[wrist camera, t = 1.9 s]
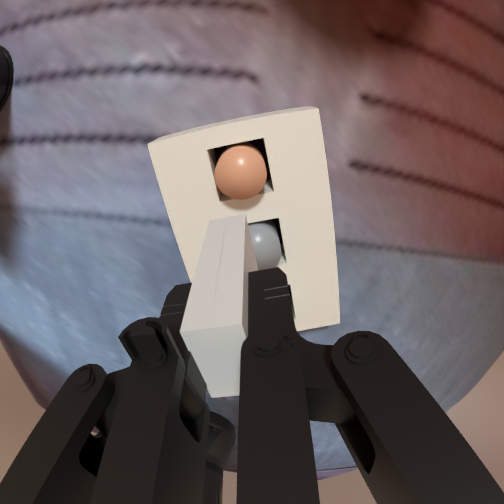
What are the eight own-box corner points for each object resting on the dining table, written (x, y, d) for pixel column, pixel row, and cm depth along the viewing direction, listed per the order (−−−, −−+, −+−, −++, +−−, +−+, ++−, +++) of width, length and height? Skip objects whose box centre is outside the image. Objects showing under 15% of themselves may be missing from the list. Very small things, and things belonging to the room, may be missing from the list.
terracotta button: (268, 180, 28) (270, 194, 25) (224, 189, 29) (221, 204, 25) (259, 137, 26) (261, 145, 23) (214, 147, 27) (209, 156, 23)
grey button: (280, 248, 32) (284, 269, 28) (240, 255, 32) (240, 277, 28) (273, 211, 30) (277, 228, 26) (231, 218, 30) (229, 237, 27)
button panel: (332, 301, 37) (339, 323, 33) (216, 320, 38) (213, 343, 34) (309, 105, 26) (318, 108, 23) (160, 137, 28) (147, 144, 24)
